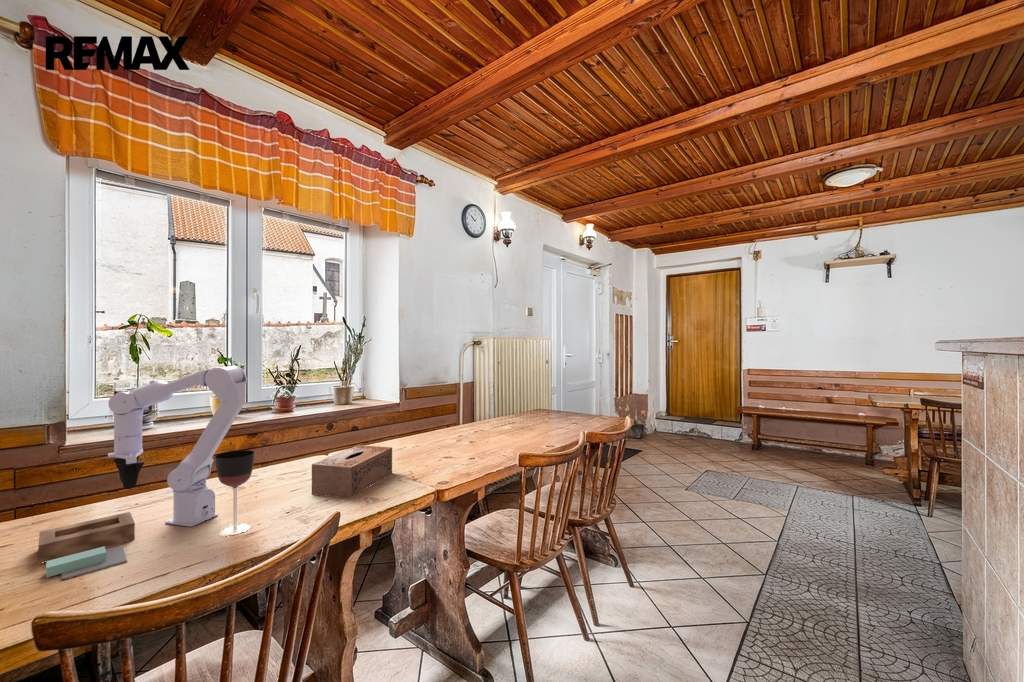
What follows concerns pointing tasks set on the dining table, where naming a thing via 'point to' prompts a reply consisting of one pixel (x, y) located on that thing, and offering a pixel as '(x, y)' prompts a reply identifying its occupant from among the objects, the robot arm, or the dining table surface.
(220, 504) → the dining table surface
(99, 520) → the walnut frame
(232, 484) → the wineglass
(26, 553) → the dining table surface
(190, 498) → the robot arm
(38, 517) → the dining table surface
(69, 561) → the teal block
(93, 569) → the grey mat
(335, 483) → the tissue box cover
